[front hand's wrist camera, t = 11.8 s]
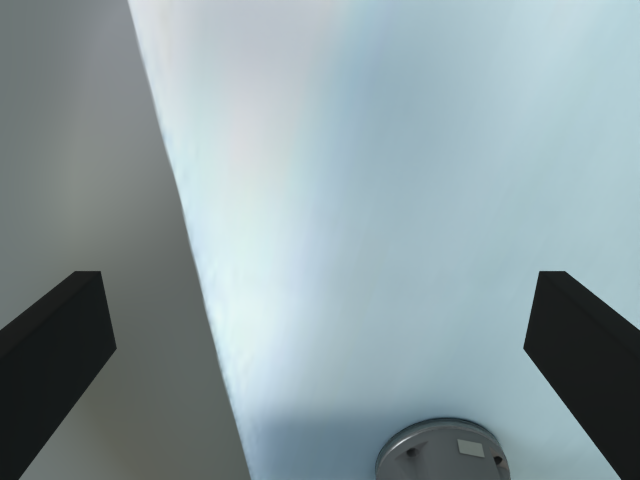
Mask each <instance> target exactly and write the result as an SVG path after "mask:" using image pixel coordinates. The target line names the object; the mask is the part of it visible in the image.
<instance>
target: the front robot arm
mask: <svg viewBox="0 0 640 480" xmlns="http://www.w3.org/2000/svg"><path fill="white" fill-rule="evenodd" d="M116 349H117V348H116V343H115V338H114V333H113V328H112V324H111V319H110V314H109V309H108V305H107V300H106V295H105V290H104V285H103V280H102V276H101V271H75V272H73V273H72V274H71V275H70V276H68V277H67V278H66V279H65V280H63V281H62V282H61V283H59V284H58V285H57V286H56V287H54V288H53V289H52V290H51V291H49V292H48V293H47V294H46V295H44V296H43V297H42V298H41V299H39V300H38V301H37V302H35V303H34V304H33V305H32V306H30V307H29V308H28V309H27V310H25V311H24V312H23V313H22V314H20V315H19V316H18V317H17V318H15V319H14V320H13V321H11V322H10V323H9V324H8V325H6V326H5V327H4V328H3V329H1V330H0V480H19V478H20V477H21V476H22V474H23V473H24V472H25V470H26V469H27V468H28V466H29V465H30V464H31V462H32V461H33V460H34V458H35V457H36V456H37V454H38V453H39V452H40V450H41V449H42V448H43V446H44V445H45V444H46V442H47V441H48V440H49V438H50V437H51V436H52V434H53V433H54V432H55V430H56V429H57V428H58V426H59V425H60V424H61V422H62V421H63V420H64V418H65V417H66V416H67V414H68V413H69V411H70V410H71V409H72V408H73V406H74V405H75V404H76V402H77V401H78V400H79V398H80V397H81V396H82V394H83V393H84V392H85V390H86V389H87V388H88V386H89V385H90V384H91V382H92V381H93V380H94V378H95V377H96V375H97V374H98V373H99V371H100V370H101V369H102V368H103V366H104V365H105V363H106V362H107V361H108V359H109V358H110V357H111V355H112V354H113V353H114V351H115V350H116ZM523 349H524V350H525V352H526V353H527V354H528V356H529V357H530V358H531V360H532V361H533V362H534V364H535V365H536V366H537V368H538V369H539V370H540V372H541V373H542V374H543V376H544V377H545V378H546V380H547V381H548V382H549V384H550V385H551V386H552V388H553V389H554V390H555V392H556V393H557V394H558V396H559V397H560V398H561V400H562V401H563V402H564V404H565V405H566V406H567V408H568V409H569V410H570V412H571V413H572V414H573V416H574V417H575V418H576V420H577V421H578V422H579V424H580V425H581V426H582V428H583V429H584V430H585V432H586V433H587V434H588V436H589V437H590V438H591V440H592V441H593V442H594V444H595V445H596V446H597V448H598V449H599V450H600V452H601V453H602V454H603V456H604V457H605V458H606V460H607V461H608V462H609V464H610V465H611V466H612V468H613V469H614V470H615V472H616V473H617V474H618V476H619V477H620V478H621V480H640V330H639V329H637V328H636V327H635V326H634V325H632V324H631V323H630V322H629V321H627V320H626V319H625V318H623V317H622V316H621V315H620V314H618V313H617V312H616V311H615V310H613V309H612V308H611V307H610V306H608V305H607V304H606V303H605V302H603V301H602V300H601V299H599V298H598V297H597V296H596V295H594V294H593V293H592V292H591V291H589V290H588V289H587V288H586V287H584V286H583V285H582V284H581V283H579V282H578V281H577V280H575V279H574V278H573V277H572V276H570V275H569V274H568V273H567V272H565V271H539V276H538V280H537V285H536V290H535V295H534V300H533V304H532V309H531V314H530V319H529V324H528V328H527V333H526V338H525V343H524V348H523ZM375 474H376V480H511V478H510V470H509V467H508V463H507V459H506V457H505V455H504V453H503V451H502V449H501V447H500V445H499V443H498V441H497V440H496V439H495V437H494V436H493V435H492V434H491V433H489V432H488V431H487V430H485V429H484V428H482V427H480V426H478V425H476V424H474V423H471V422H468V421H464V420H458V419H433V420H428V421H424V422H420V423H417V424H414V425H412V426H409V427H407V428H405V429H404V430H402V431H400V432H399V433H397V434H396V435H395V436H393V437H392V438H391V439H390V440H389V441H388V442H387V443H386V444H385V446H384V447H383V448H382V450H381V452H380V453H379V456H378V458H377V461H376V466H375Z"/></svg>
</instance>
